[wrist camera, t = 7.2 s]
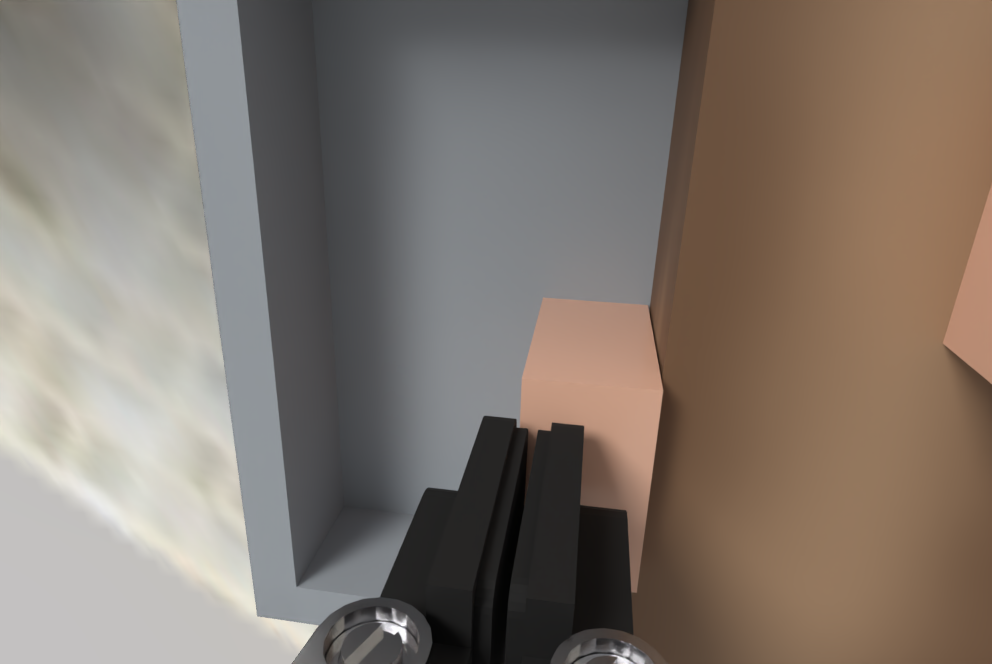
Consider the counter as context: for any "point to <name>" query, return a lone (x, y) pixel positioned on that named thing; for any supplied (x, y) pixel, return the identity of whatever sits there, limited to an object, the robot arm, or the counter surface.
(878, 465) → the brown square platform
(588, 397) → the tile
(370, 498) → the box
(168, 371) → the counter surface
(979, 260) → the tile
